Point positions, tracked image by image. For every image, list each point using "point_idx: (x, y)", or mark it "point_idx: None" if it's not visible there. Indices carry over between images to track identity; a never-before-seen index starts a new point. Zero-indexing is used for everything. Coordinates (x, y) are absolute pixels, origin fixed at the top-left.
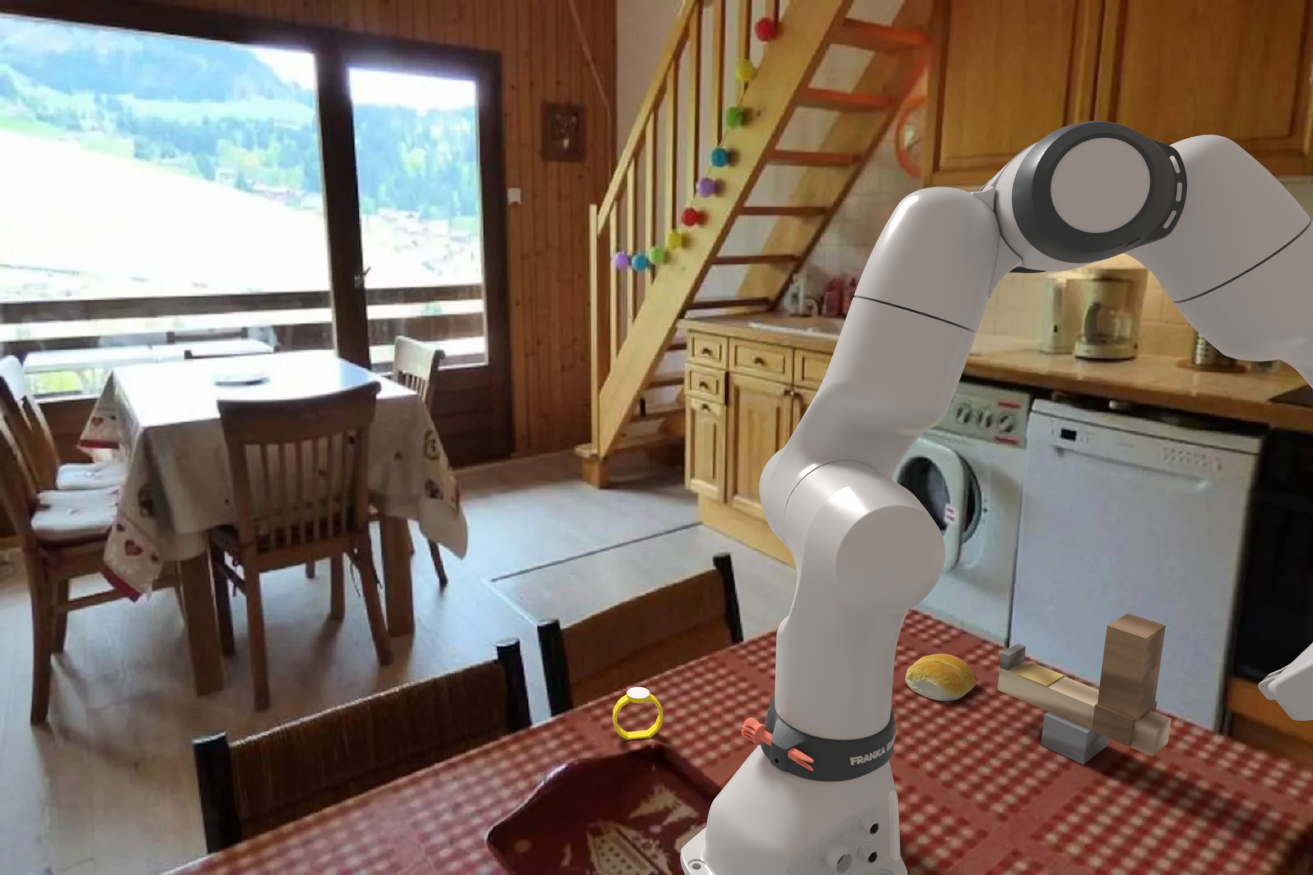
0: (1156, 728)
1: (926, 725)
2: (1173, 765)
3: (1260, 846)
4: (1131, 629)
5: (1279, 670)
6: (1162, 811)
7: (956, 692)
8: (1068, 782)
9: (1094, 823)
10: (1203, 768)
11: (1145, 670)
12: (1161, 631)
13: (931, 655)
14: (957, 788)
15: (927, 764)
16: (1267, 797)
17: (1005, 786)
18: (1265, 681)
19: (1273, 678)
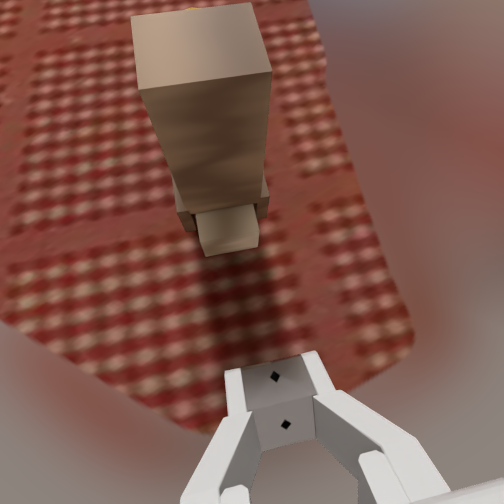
0: (209, 237)
1: (107, 92)
2: (287, 256)
3: (224, 409)
4: (162, 49)
5: (317, 389)
6: (185, 307)
7: None
8: (142, 222)
9: (92, 283)
10: (316, 277)
11: (189, 156)
12: (246, 84)
13: (196, 8)
14: (27, 176)
15: (41, 136)
16: (334, 352)
17: (74, 196)
18: (227, 391)
19: (221, 423)
